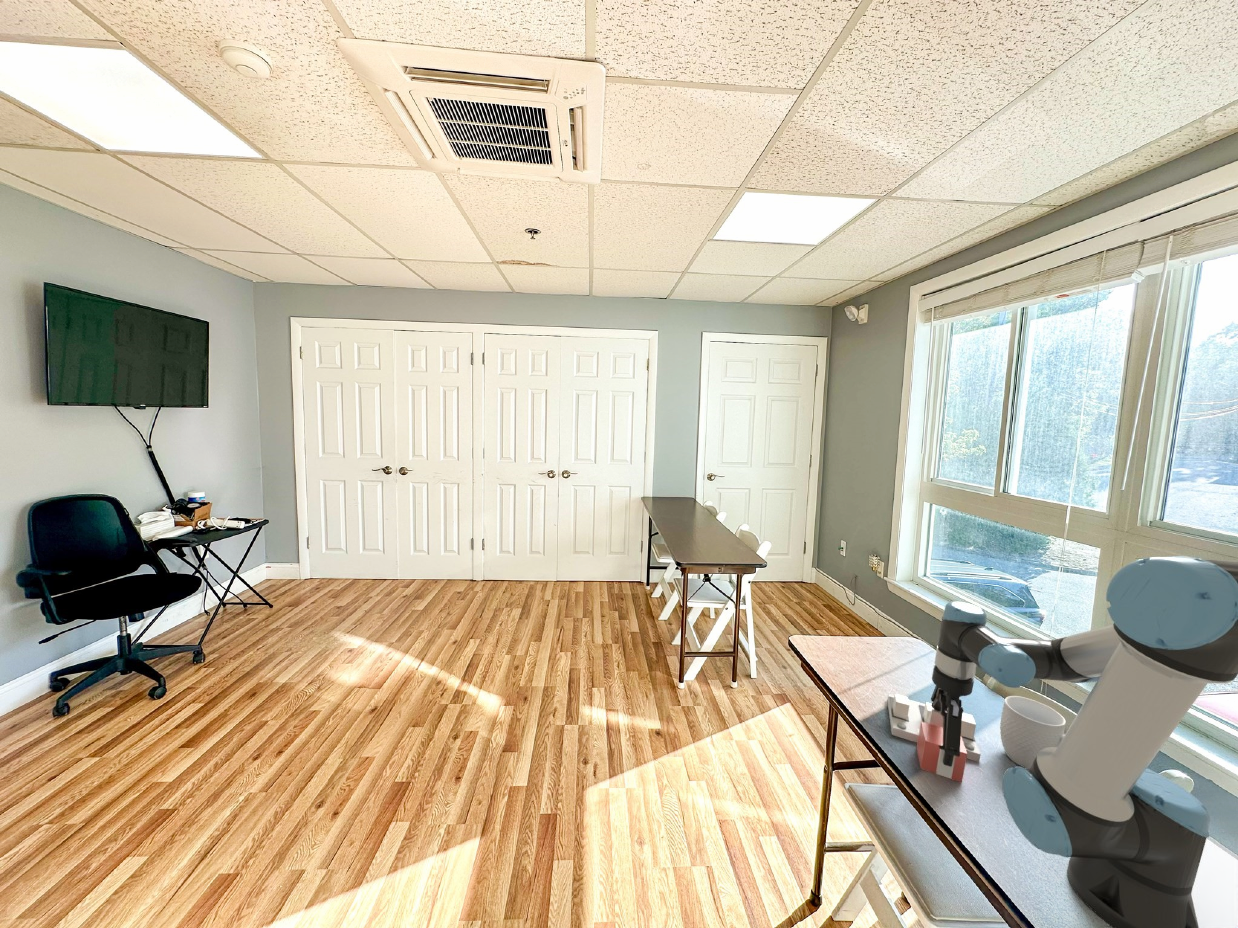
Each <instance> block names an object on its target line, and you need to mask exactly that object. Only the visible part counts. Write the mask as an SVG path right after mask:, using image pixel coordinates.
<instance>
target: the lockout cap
mask: <svg viewBox="0 0 1238 928" xmlns="http://www.w3.org/2000/svg"><path fill="white" fill-rule="evenodd" d="M916 744H917V745H916V752H917V757H918V763H919V767H920V769H921V770H923V769H924V771H927V772H929V771H930V773H932V772H933V774H935V775H938V776H941V777H944V778H947V779H950V780H953V781H956V782H959V783H962V782H963V778H964V775H965V774H964V772H965V767H966V764H967V759H968V758H967V752H966V749H965V746H964V743H963V740H962V737H961V740H960V756H959V757H957V756H956V757H955V762H954V767H953V773H952V778H948V777H945V776H942V775H939V774H937V773H936V769H937V764H938V759H939V753H940V749H939V745H943V728H942V727H939V726H935V725H932V724H928V723H925V722H922V721H921V725H920V731H919V736H918V742H916Z"/></svg>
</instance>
